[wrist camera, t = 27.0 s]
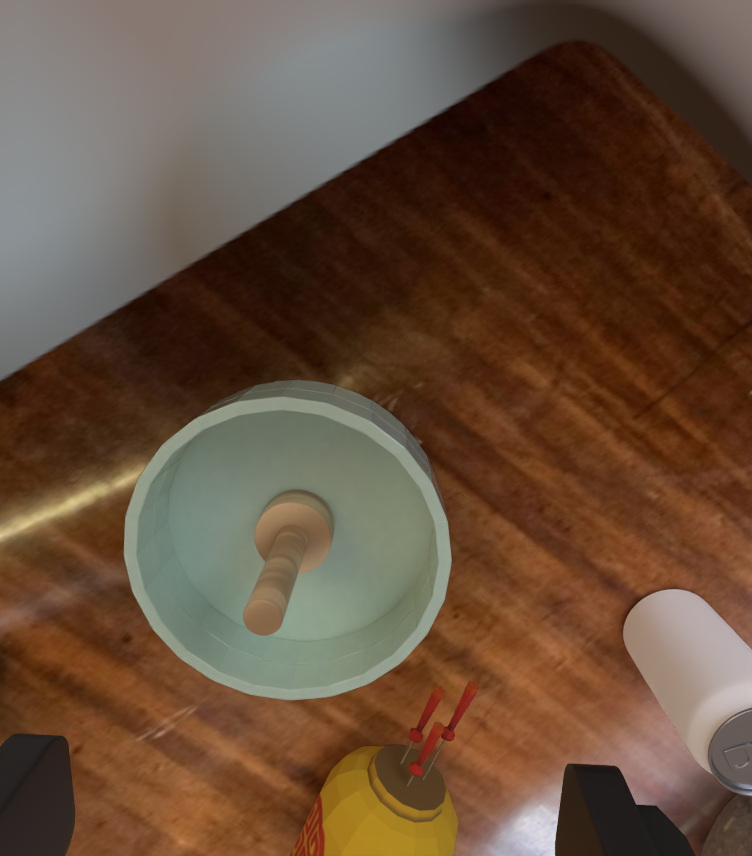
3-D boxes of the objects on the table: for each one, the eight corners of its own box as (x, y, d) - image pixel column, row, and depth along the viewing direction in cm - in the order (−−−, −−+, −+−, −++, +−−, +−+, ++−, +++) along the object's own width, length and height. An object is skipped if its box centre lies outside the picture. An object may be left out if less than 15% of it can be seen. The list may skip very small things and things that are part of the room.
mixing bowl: (110, 443, 42) (65, 470, 37) (378, 334, 40) (376, 345, 34) (233, 679, 47) (210, 737, 41) (483, 593, 44) (496, 642, 38)
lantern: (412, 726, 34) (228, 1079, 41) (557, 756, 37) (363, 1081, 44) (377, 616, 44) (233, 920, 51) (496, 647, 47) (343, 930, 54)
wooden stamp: (250, 504, 42) (195, 592, 31) (317, 478, 42) (287, 558, 30) (280, 567, 44) (238, 675, 32) (346, 543, 43) (328, 644, 31)
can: (726, 645, 45) (843, 777, 33) (640, 680, 46) (725, 820, 34) (693, 571, 43) (803, 681, 32) (606, 608, 44) (682, 729, 33)
